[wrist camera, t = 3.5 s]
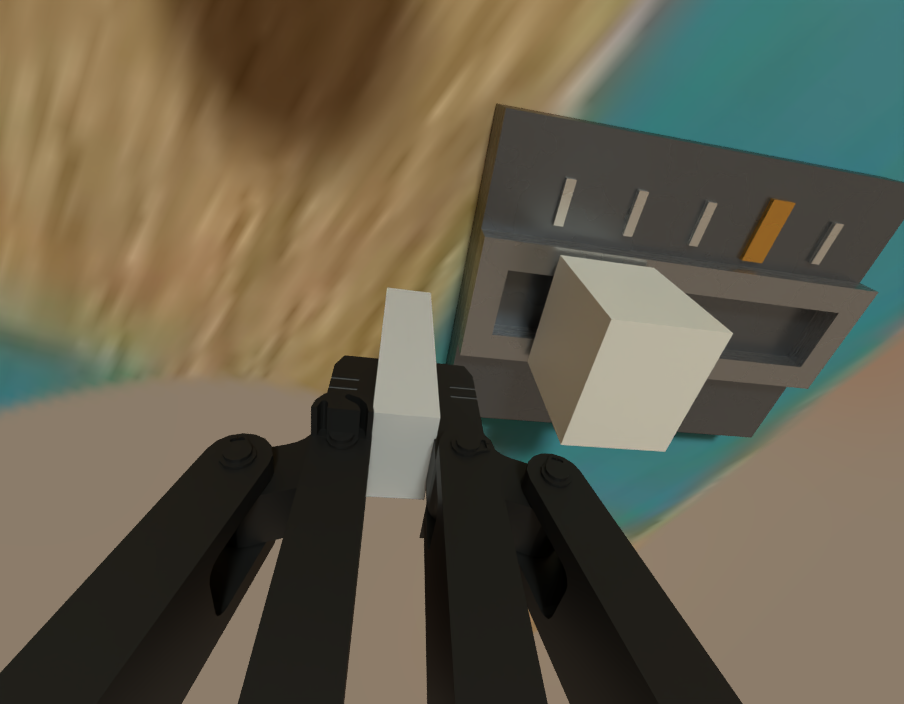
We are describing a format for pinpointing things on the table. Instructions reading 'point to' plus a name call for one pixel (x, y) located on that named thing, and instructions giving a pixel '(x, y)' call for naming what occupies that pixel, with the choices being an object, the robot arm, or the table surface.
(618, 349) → the fader tab
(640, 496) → the table surface
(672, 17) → the table surface
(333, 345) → the table surface
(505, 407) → the console
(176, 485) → the robot arm
